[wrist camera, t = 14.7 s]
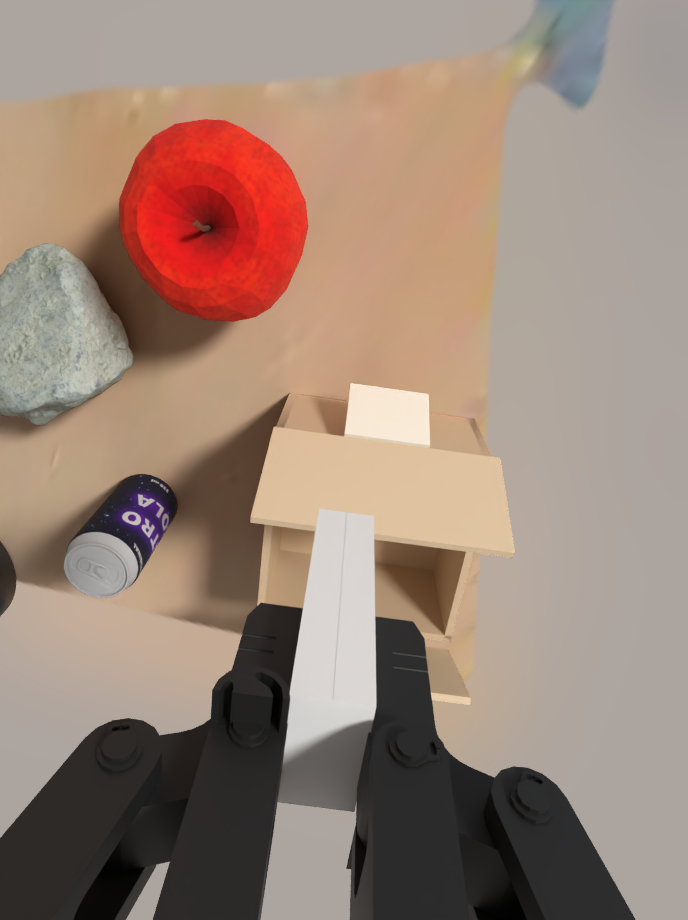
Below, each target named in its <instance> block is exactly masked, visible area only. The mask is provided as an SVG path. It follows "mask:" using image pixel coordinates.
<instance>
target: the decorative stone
mask: <svg viewBox="0 0 688 920" xmlns="http://www.w3.org/2000/svg"><path fill="white" fill-rule="evenodd" d="M128 344H129V342H128V338H127V335H126V332H125V329H124V326H123V324H122V322H121V320H120V318H119V317H118V315H117V314H116V313H114V312H113V311H112V310H111V308H110V307H109V305H108V303H107V301H106V299H105V297H104V295H103V294H102V293H101V291H100V289H99V286H98V283H97V281H96V280H95V279H94V278H93V276H92V274H91V273H90V271H89V270H88V268H87V267H86V266H85V264H84V263H83V262H82V261H81V260H79V259H78V258H77V257H75V256H74V255H72V254H71V253H70V252H69V251H67V250H66V249H65V248H64V247H61V246H58V245H55V244H48V243H44V244H42V245H39V246H36V247H32V248H30V249H28V250H26V252H25V253H24V254H23V255H22V256H21V257H20V258H18V259H16V260H15V261H14V262H12V263H9V264H8V265H7V266H6V268H5V270H4V271H3V273H2V274H1V275H0V414H2V415H5V416H7V417H10V416H21V417H26V418H27V419H29V420H30V421H31V423H33V424H35V425H38V424H39V425H45V424H47V423H48V422H49V421H50V420H52V419H53V418H55V417H56V416H58V415H59V414H61V413H63V412H65V411H67V410H69V409H72V408H74V407H77V406H80V405H81V404H82V403H84V402H85V401H86V400H88V399H89V398H91V397H93V396H95V395H98V394H101V393H102V392H104V391H105V390H106V389H107V388H108V387H110V386H111V385H112V384H114V383H116V382H118V381H119V380H121V378H122V376H123V374H124V372H125V371H126V370H127V369H129V367H130V366H131V365H132V364H133V354H132V351H131V350H130V348H129V347H128Z"/></svg>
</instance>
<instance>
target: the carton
mask: <svg viewBox="0 0 688 920" xmlns="http://www.w3.org/2000/svg"><path fill="white" fill-rule="evenodd" d="M347 409H348V401H342V400H335V399H327V398H320V397H313V396H306V395H299V394H292V393H290V394H289V396H288V398H287V401H286V403H285V406H284V408H283V411H282V413H281V416H280V418H279V421H278V423H277V426H276V427H280V428H287V429H294V430H302V431H309V432H316V433H323V434H330V435H338V436H344V434H345V426H346V417H347ZM429 426H430V448H432V449H439V450H446V451H453V452H461V453H468V454H475V455H482V456H489V457H492V455H491V453H490V451H489V449H488V447H487V445H486V443H485V441H484V438H483V436H482V434H481V432H480V430H479V428H478V426H477V424H476V422H475V419H471V418H464V417H456V416H449V415H442V414H435V413H429ZM314 537H315V531H309V530H302V529H294V528H287V527H280V526H272V525H264V536H263V547H262V558H261V569H260V580H259V591H258V603H257V606H258V605H259V604H260V603H267V604H275V605H282V606H290V607H298V608H303V606H304V600H305V593H306V587H307V581H308V575H309V568H310V562H311V556H312V550H313V544H314ZM473 554H474V553H472V552H464V551H457V550H450V549H442V548H435V547H427V546H420V545H413V544H405V543H398V542H390V541H383V540H376V539H374V564H375V616H376V617H384V618H391V619H399V620H406V621H413V622H414V623H415V625H416V626H417V628H418V629H419V631H420V632H421V634H422V635H423V637H424V639H430V640H438V641H446V642H451V638H452V634H453V630H454V626H455V623H456V619H457V615H458V611H459V607H460V604H461V600H462V596H463V592H464V588H465V585H466V581H467V577H468V573H469V570H470V566H471V562H472V558H473Z"/></svg>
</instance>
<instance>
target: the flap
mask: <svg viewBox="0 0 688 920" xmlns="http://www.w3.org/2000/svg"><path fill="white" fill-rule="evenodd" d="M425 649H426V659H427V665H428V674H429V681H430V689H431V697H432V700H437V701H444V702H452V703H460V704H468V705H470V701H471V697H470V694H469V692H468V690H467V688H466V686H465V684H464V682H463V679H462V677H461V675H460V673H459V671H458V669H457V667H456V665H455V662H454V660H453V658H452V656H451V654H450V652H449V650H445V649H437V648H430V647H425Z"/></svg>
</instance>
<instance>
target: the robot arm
mask: <svg viewBox="0 0 688 920" xmlns="http://www.w3.org/2000/svg"><path fill="white" fill-rule="evenodd" d="M15 589H16V575H15V570H14V566H13V563H12V561H11V558H10V556H9V554H8V552H7V551H6V549H5V547H4V546H3V545H2V543H1V542H0V616H1V615H2V614H3V613H4V611H5V610H6V609H7V608H8V607H9V605H10V604H11V602H12V600H13V597H14V593H15ZM356 801H357V811H356V826H355V831H354V836H353V840H352V845H351V850H350V854H349V859H348V864H347V869H351V899H350V920H635V918H634V916H633V914H632V913H631V911H630V909H629V907H628V906H627V904H626V902H625V900H624V898H623V897H622V895H621V893H620V891H619V890H618V888H617V886H616V884H615V883H614V881H613V879H612V877H611V876H610V874H609V872H608V870H607V868H606V867H605V865H604V863H603V861H602V860H601V858H600V856H599V854H598V853H597V851H596V849H595V847H594V846H593V844H592V842H591V840H590V839H589V837H588V835H587V833H586V831H585V830H584V828H583V826H582V824H581V823H580V821H579V819H578V817H577V816H576V814H575V812H574V810H573V808H572V807H571V805H570V803H569V801H568V800H567V798H566V797H565V795H564V794H563V793H562V791H561V790H560V789H559V788H558V786H557V785H556V784H555V783H554V782H552V781H551V780H550V779H548V778H547V777H546V776H544V775H543V774H541V773H539V772H536V771H534V770H532V769H529V768H524V767H511V768H507V769H504V770H501V771H500V773H498V775H497V776H496V777H495V778H494V777H492V776H489V775H487V774H485V773H482V772H480V771H478V770H475V769H473V768H471V767H469V766H467V765H465V764H463V763H461V762H460V761H458V760H457V759H456V758H455V757H453V756H452V755H451V754H450V753H449V752H448V751H447V750H446V748H445V747H444V744H443V742H442V741H441V740H440V739H439V737H438V735H437V732H436V728H435V721H434V714H433V706H432V697H431V689H430V681H429V674H428V665H427V659H426V649H425V641H424V637H423V635H422V634H421V632H420V631H419V629H418V628H417V626H416V625H415V623H414V622H413V621H406V620H399V619H391V618H384V617H376V616H375V564H374V516H371V515H363V514H356V513H349V512H341V511H334V510H327V509H319V512H318V519H317V525H316V531H315V537H314V544H313V550H312V556H311V562H310V568H309V575H308V581H307V587H306V593H305V600H304V606H303V608H298V607H290V606H282V605H275V604H267V603H260V604H259V605H258V606H257V607H256V608H255V609H254V610H253V611H252V612H251V613H250V614H249V615H248V616H247V620H246V623H245V627H244V630H243V634H242V637H241V640H240V644H239V649H238V651H237V654H236V658H235V661H234V665H233V668H232V670H231V671H229V672H228V673H226V674H225V675H224V676H222V677H221V678H220V679H219V680H218V682H217V683H216V685H215V687H214V688H213V690H212V708H211V719H210V720H208V721H207V722H206V723H204V724H203V725H201V726H198V727H196V728H194V729H192V730H187V731H184V732H179V733H173V734H166V735H160V736H159V734H158V733H157V731H156V729H155V728H154V727H153V726H151V725H149V724H148V723H146V722H144V721H142V720H136V719H129V718H127V719H120V720H113V721H111V722H108V723H106V724H104V725H102V726H100V727H98V728H96V729H95V730H94V731H93V732H91V733H90V734H89V735H88V736H87V737H86V738H85V739H84V740H83V741H82V742H81V743H80V744H79V746H78V747H77V748H76V749H75V750H74V752H73V753H72V754H71V755H70V756H69V757H68V759H67V760H66V761H65V762H64V763H63V765H62V766H61V767H60V768H59V769H58V771H57V772H56V773H55V774H54V775H53V776H52V778H51V779H50V780H49V781H48V782H47V784H46V785H45V786H44V787H43V788H42V789H41V791H40V792H39V793H38V794H37V796H36V797H35V798H34V799H33V800H32V801H31V802H30V804H29V805H28V806H27V807H26V808H25V810H24V811H23V812H22V813H21V814H20V816H19V817H18V818H17V819H16V820H15V822H14V823H13V824H12V825H11V826H10V827H9V828H8V830H7V831H6V832H5V833H4V834H3V836H2V837H1V838H0V920H126V918H127V916H128V915H129V913H130V911H131V909H132V908H133V906H134V904H135V902H136V901H137V899H138V897H139V895H140V894H141V892H142V890H143V888H144V886H145V885H146V883H147V881H148V879H149V878H150V876H151V874H152V872H153V871H154V869H155V867H156V864H160V863H165V862H169V861H170V864H169V867H168V870H167V874H166V877H165V880H164V884H163V887H162V890H161V894H160V897H159V901H158V904H157V907H156V911H155V914H154V917H153V920H260V918H261V911H262V904H263V898H264V891H265V884H266V878H267V871H268V864H269V857H270V851H271V844H272V837H273V830H274V822H275V815H276V807H277V802H281V803H289V804H297V805H305V806H313V807H321V808H329V809H336V810H345V811H352V812H354V811H355V806H356Z"/></svg>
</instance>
